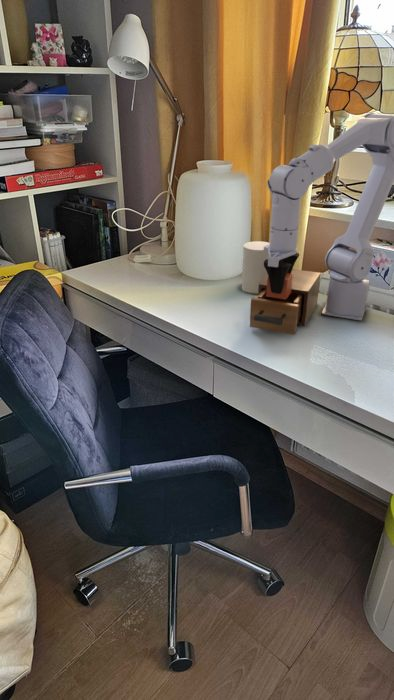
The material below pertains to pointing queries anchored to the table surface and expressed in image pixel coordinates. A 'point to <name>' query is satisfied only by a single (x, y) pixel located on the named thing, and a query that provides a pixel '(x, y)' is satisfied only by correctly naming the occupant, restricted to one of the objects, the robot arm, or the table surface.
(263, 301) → the drawer
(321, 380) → the table surface
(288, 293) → the block
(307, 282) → the cabinet
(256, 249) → the cream upright cylinder
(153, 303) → the table surface
